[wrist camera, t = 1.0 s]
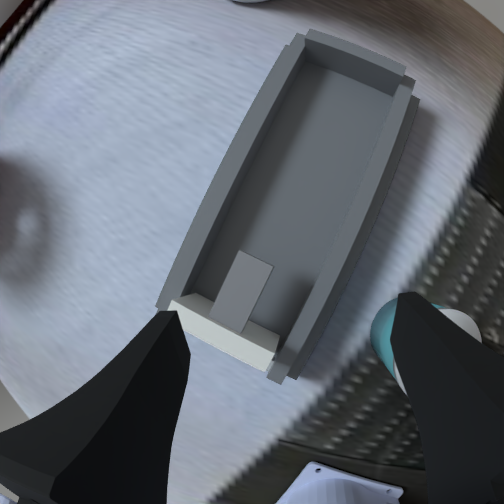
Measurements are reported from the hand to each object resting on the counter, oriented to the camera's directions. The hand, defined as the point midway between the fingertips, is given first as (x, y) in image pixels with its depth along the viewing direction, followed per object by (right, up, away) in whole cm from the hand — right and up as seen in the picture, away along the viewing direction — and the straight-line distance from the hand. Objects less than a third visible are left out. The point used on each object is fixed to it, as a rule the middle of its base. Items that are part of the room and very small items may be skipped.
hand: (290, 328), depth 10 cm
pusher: (-2, 0, +11) cm, 11 cm away
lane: (+1, +5, +12) cm, 13 cm away
